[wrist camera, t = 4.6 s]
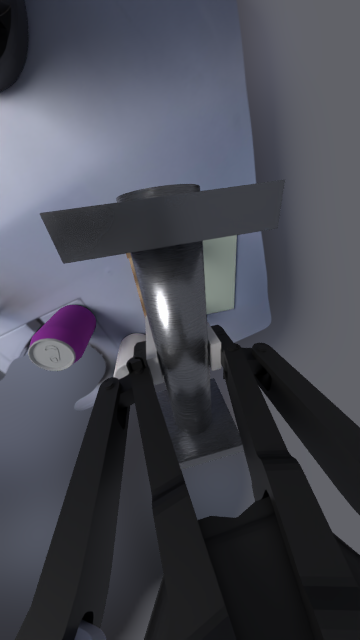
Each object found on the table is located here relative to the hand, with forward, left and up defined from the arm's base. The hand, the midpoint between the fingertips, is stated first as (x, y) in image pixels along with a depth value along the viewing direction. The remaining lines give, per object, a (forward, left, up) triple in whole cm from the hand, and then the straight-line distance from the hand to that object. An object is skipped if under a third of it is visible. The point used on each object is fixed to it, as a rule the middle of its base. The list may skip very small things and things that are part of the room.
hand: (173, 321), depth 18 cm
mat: (0, +12, -20) cm, 23 cm away
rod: (0, 0, +2) cm, 2 cm away
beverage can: (+6, -19, -20) cm, 28 cm away
